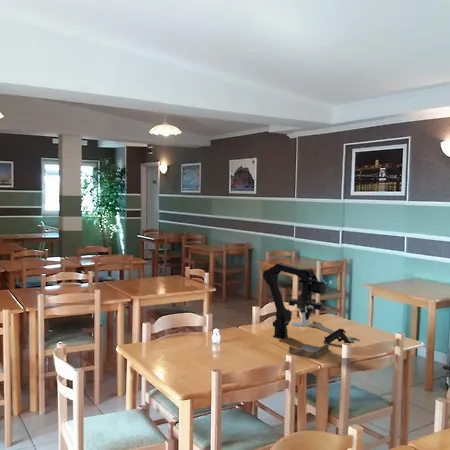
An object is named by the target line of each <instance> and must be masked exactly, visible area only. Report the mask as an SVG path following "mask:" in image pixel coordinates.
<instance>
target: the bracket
mask: <svg viewBox="0 0 450 450" xmlns="http://www.w3.org/2000/svg"><path fill="white" fill-rule="evenodd" d="M309 323H310V318H309V319H308V320H307V310H306V311H305V312H303V313H301V321H298V320H295V321H294V322H292V323H291V324H290V325H291V326H292V327H298V328H307V327H309Z"/></svg>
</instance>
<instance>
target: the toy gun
mask: <svg viewBox="0 0 450 450" xmlns="http://www.w3.org/2000/svg"><path fill="white" fill-rule="evenodd" d="M334 331H335V332H333V333H332V334H331V333H329V335H327V336H324V340H323V343H324V344H330V343H332V342H333V341H335V340H337V342H338V343H340V342H342V341H343V342H344V344H345V343H349V344H348V345H350V344H351V343H350V341H349V340H348V338H347V337H346V336H347V335H346V333H347V332H346V330H345V329H344V328H338V329H336V330H334ZM345 335H346V336H345Z"/></svg>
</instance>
